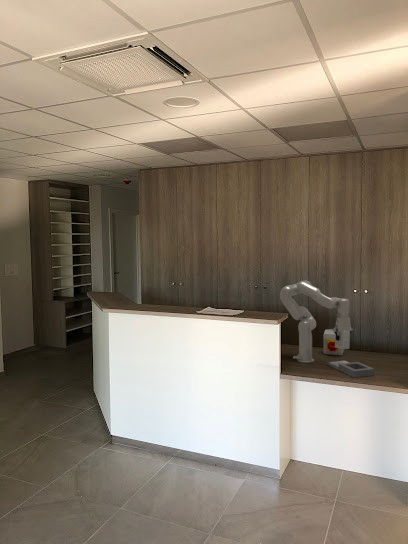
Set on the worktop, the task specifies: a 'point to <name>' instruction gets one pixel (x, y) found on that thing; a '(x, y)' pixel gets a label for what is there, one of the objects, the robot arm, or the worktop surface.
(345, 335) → the small box
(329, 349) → the electrical switch box
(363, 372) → the case
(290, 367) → the worktop surface
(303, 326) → the robot arm
